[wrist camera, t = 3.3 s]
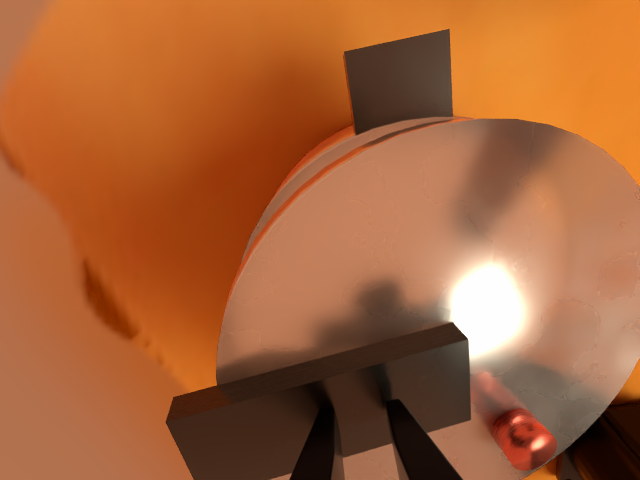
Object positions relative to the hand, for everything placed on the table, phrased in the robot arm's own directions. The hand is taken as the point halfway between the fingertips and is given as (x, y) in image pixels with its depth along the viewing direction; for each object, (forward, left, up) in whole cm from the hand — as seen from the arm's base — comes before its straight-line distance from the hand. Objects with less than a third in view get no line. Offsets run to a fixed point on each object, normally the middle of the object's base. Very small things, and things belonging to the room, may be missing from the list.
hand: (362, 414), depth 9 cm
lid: (0, -2, -2) cm, 3 cm away
